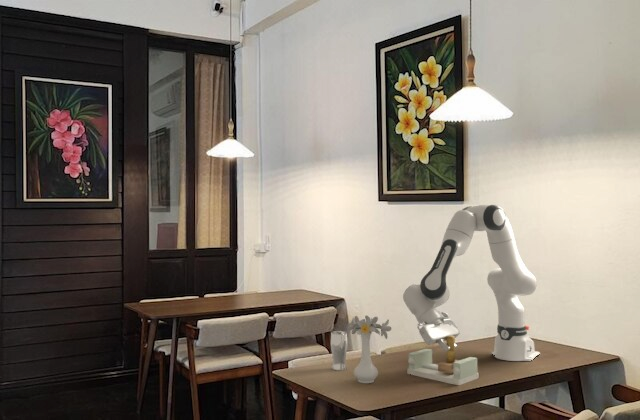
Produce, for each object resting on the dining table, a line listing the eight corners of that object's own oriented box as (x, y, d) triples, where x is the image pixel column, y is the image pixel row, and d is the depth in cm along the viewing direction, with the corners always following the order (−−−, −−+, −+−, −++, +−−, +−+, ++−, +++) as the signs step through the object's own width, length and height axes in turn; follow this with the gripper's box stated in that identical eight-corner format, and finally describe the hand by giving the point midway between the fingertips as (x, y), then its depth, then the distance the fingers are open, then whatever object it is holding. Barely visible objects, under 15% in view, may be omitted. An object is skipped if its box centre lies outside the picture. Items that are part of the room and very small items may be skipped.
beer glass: (346, 371, 263) (346, 334, 263) (329, 370, 265) (329, 334, 265) (348, 367, 270) (348, 331, 270) (332, 366, 272) (332, 330, 271)
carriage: (452, 366, 258) (452, 333, 258) (463, 368, 255) (463, 335, 255) (438, 371, 251) (437, 337, 251) (449, 373, 248) (448, 339, 248)
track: (427, 367, 269) (427, 348, 269) (478, 378, 252) (478, 357, 252) (407, 373, 259) (407, 353, 259) (458, 385, 242) (458, 364, 242)
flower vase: (396, 380, 249) (395, 316, 249) (358, 388, 239) (357, 321, 238) (374, 373, 260) (374, 311, 259) (337, 380, 249) (337, 316, 249)
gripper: (420, 319, 250) (441, 348, 243) (449, 312, 265) (470, 340, 258) (410, 329, 253) (431, 358, 247) (440, 322, 268) (461, 349, 261)
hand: (452, 348), depth 252 cm, fingers closed on carriage, 3 cm apart
